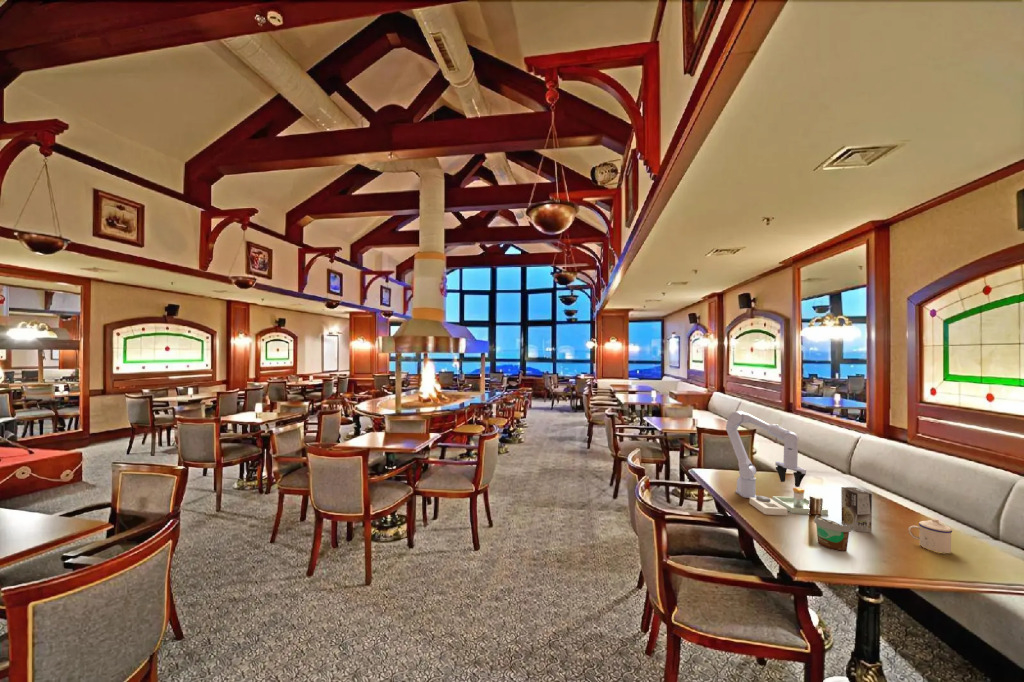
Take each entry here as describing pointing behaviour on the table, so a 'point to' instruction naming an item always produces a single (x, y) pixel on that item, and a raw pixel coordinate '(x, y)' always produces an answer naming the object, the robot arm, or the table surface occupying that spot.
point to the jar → (798, 497)
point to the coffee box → (856, 509)
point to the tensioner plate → (768, 506)
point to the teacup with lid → (934, 535)
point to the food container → (832, 534)
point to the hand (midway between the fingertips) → (789, 484)
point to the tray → (789, 503)
